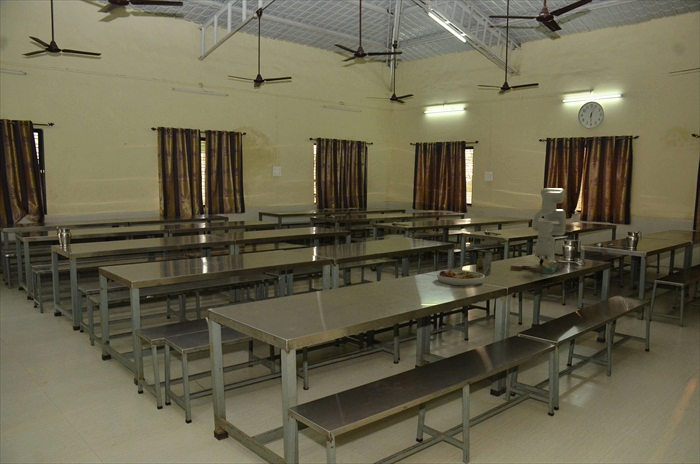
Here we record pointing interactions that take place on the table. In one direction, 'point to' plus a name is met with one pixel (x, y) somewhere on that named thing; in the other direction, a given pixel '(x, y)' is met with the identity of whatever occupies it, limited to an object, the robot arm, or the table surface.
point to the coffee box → (483, 261)
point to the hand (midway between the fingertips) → (542, 264)
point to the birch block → (548, 263)
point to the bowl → (460, 277)
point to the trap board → (533, 268)
